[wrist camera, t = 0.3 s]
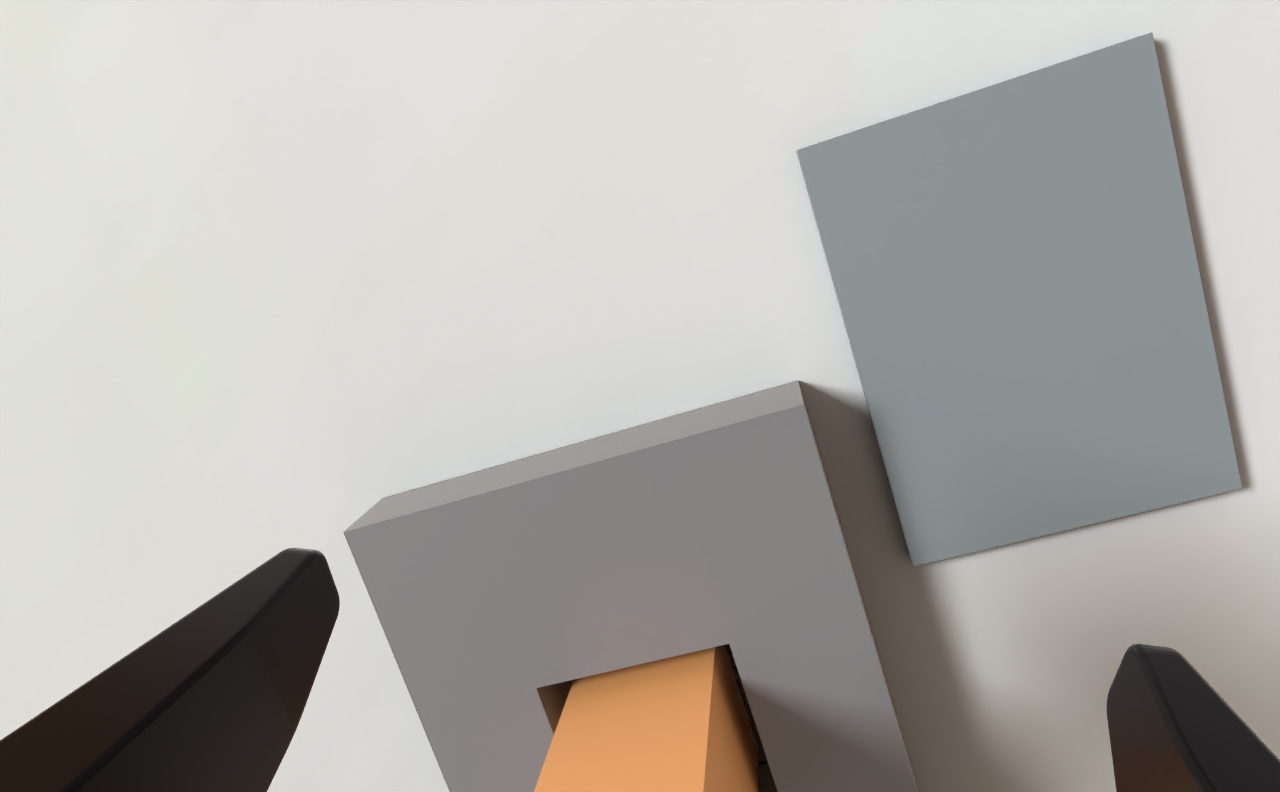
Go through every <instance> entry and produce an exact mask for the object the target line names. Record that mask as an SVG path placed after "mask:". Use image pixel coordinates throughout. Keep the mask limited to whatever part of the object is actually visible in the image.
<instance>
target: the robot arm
mask: <svg viewBox="0 0 1280 792" xmlns="http://www.w3.org/2000/svg"><path fill="white" fill-rule="evenodd" d="M339 604H340V602H339V595H338V592H337V589H336V586H335V583H334V580H333V577H332V575H331V572H330V569H329V566H328V563H327V560H326V558H325V556H324V555H323V554H322V553H321V552H320V551H317V550H309V549H300V548H289V549H286V550H284V551H282V552H280V553H279V554H277V555H276V556H274V557H273V558H271V559H270V560H268V561H267V562H265V563H264V564H262V565H261V566H259V567H258V568H256V569H255V570H253V571H252V572H250V573H249V574H247V575H246V576H244V577H243V578H241V579H240V580H238V581H237V582H235V583H234V584H232V585H231V586H229V587H228V588H226V589H225V590H223V591H222V592H221V593H219V594H218V595H216V596H215V597H213V598H212V599H210V600H209V601H207V602H206V603H204V604H203V605H201V606H200V607H198V608H197V609H195V610H194V611H192V612H191V613H189V614H188V615H186V616H185V617H183V618H182V619H180V620H179V621H177V622H176V623H174V624H173V625H171V626H170V627H168V628H167V629H165V630H164V631H162V632H161V633H159V634H158V635H157V636H155V637H154V638H152V639H151V640H149V641H148V642H146V643H145V644H143V645H142V646H140V647H139V648H137V649H136V650H134V651H133V652H131V653H130V654H128V655H127V656H125V657H124V658H122V659H121V660H119V661H118V662H116V663H115V664H113V665H112V666H110V667H109V668H107V669H106V670H104V671H103V672H101V673H100V674H98V675H97V676H95V677H94V678H93V679H91V680H90V681H88V682H87V683H85V684H84V685H82V686H81V687H79V688H78V689H76V690H75V691H73V692H72V693H70V694H69V695H67V696H66V697H64V698H63V699H61V700H60V701H58V702H57V703H55V704H54V705H52V706H51V707H49V708H48V709H46V710H45V711H43V712H42V713H40V714H39V715H37V716H36V717H34V718H33V719H31V720H30V721H29V722H27V723H26V724H24V725H23V726H21V727H20V728H18V729H17V730H15V731H14V732H12V733H11V734H9V735H8V736H6V737H5V738H3V739H2V740H0V792H267V790H268V788H269V786H270V784H271V782H272V780H273V778H274V776H275V774H276V771H277V769H278V767H279V765H280V763H281V761H282V759H283V757H284V755H285V753H286V751H287V749H288V746H289V744H290V742H291V740H292V738H293V735H294V733H295V731H296V728H297V726H298V723H299V721H300V718H301V716H302V713H303V711H304V708H305V705H306V702H307V700H308V697H309V694H310V691H311V688H312V686H313V683H314V680H315V677H316V675H317V672H318V669H319V666H320V664H321V661H322V658H323V655H324V653H325V650H326V647H327V644H328V641H329V639H330V636H331V633H332V630H333V628H334V625H335V622H336V619H337V616H338V612H339ZM1107 718H1108V726H1109V734H1110V742H1111V750H1112V758H1113V766H1114V774H1115V782H1116V790H1117V792H1280V760H1279V759H1278V758H1277V757H1276V756H1275V755H1274V754H1273V753H1272V751H1271V750H1270V749H1269V748H1268V747H1267V746H1266V745H1265V744H1264V743H1263V742H1262V741H1261V740H1260V739H1259V737H1258V736H1257V735H1256V734H1255V733H1254V732H1253V731H1252V730H1251V729H1250V728H1249V727H1248V726H1247V725H1246V723H1245V722H1244V721H1243V720H1242V719H1241V718H1240V717H1239V716H1238V715H1237V714H1236V713H1235V712H1234V711H1233V709H1232V708H1231V707H1230V706H1229V705H1228V704H1227V703H1226V702H1225V701H1224V700H1223V699H1222V698H1221V697H1220V695H1219V694H1218V693H1217V692H1216V691H1215V690H1214V689H1213V688H1212V687H1211V686H1210V685H1209V684H1208V683H1207V681H1206V680H1205V679H1204V678H1203V677H1202V676H1201V675H1200V674H1199V673H1198V672H1197V671H1196V670H1195V669H1194V667H1193V666H1192V665H1191V664H1190V663H1189V662H1188V661H1187V660H1186V659H1185V658H1184V657H1183V656H1182V655H1181V654H1180V653H1179V652H1177V651H1176V650H1174V649H1171V648H1167V647H1159V646H1150V645H1142V644H1135V645H1132V646H1130V647H1129V648H1128V649H1127V651H1126V653H1125V655H1124V657H1123V659H1122V662H1121V664H1120V667H1119V669H1118V671H1117V674H1116V676H1115V678H1114V681H1113V683H1112V685H1111V688H1110V690H1109V693H1108V698H1107Z"/></svg>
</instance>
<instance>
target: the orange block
mask: <svg viewBox="0 0 1280 792" xmlns="http://www.w3.org/2000/svg"><path fill="white" fill-rule="evenodd" d="M534 792H758V745H757V742H756V739H755V736H754V733H753V730H752V727H751V724H750V721H749V718H748V715H747V712H746V709H745V705H744V702H743V699H742V696H741V693H740V690H739V687H738V684H737V681H736V678H735V675H734V672H733V669H732V666H731V663H730V660H729V657H728V654H727V651H726V648H725V645H722V646H717V647H713V648H709V649H704V650H700V651H696V652H691V653H687V654H683V655H678V656H674V657H669V658H665V659H661V660H656V661H652V662H648V663H643V664H639V665H635V666H630V667H626V668H622V669H617V670H613V671H609V672H604V673H600V674H596V675H591V676H587V677H583V678H578V679H574V680H573V683H572V686H571V689H570V691H569V694H568V697H567V700H566V703H565V705H564V708H563V711H562V714H561V717H560V719H559V722H558V725H557V728H556V731H555V733H554V736H553V739H552V742H551V745H550V748H549V750H548V753H547V756H546V759H545V762H544V764H543V767H542V770H541V773H540V776H539V778H538V781H537V784H536V787H535V790H534Z"/></svg>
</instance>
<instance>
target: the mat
mask: <svg viewBox="0 0 1280 792" xmlns="http://www.w3.org/2000/svg"><path fill="white" fill-rule="evenodd" d="M797 154H798V158H799V161H800V165H801V169H802V172H803V176H804V179H805V183H806V187H807V190H808V194H809V197H810V201H811V205H812V208H813V212H814V215H815V219H816V222H817V226H818V230H819V233H820V237H821V240H822V244H823V248H824V251H825V255H826V258H827V262H828V266H829V269H830V273H831V276H832V280H833V284H834V287H835V291H836V294H837V298H838V301H839V305H840V309H841V312H842V316H843V319H844V323H845V327H846V330H847V334H848V337H849V341H850V345H851V348H852V352H853V355H854V359H855V362H856V366H857V370H858V373H859V377H860V380H861V384H862V388H863V391H864V395H865V398H866V402H867V406H868V409H869V413H870V416H871V420H872V423H873V427H874V431H875V434H876V438H877V441H878V445H879V449H880V452H881V456H882V459H883V463H884V467H885V470H886V474H887V477H888V481H889V485H890V488H891V492H892V495H893V499H894V502H895V506H896V510H897V513H898V517H899V520H900V524H901V528H902V531H903V535H904V538H905V542H906V546H907V549H908V553H909V556H910V560H911V562H912V564H913V567H914V566H918V565H923V564H927V563H931V562H935V561H939V560H944V559H948V558H952V557H956V556H960V555H965V554H969V553H973V552H977V551H981V550H986V549H990V548H994V547H998V546H1002V545H1007V544H1011V543H1015V542H1019V541H1023V540H1028V539H1032V538H1036V537H1040V536H1044V535H1049V534H1053V533H1057V532H1061V531H1066V530H1070V529H1074V528H1078V527H1082V526H1087V525H1091V524H1095V523H1099V522H1103V521H1108V520H1112V519H1116V518H1120V517H1124V516H1129V515H1133V514H1137V513H1141V512H1145V511H1150V510H1154V509H1158V508H1162V507H1166V506H1171V505H1175V504H1179V503H1183V502H1187V501H1192V500H1196V499H1200V498H1204V497H1209V496H1213V495H1217V494H1221V493H1225V492H1230V491H1234V490H1238V489H1242V484H1241V479H1240V474H1239V469H1238V464H1237V459H1236V454H1235V449H1234V444H1233V439H1232V434H1231V429H1230V423H1229V418H1228V413H1227V408H1226V403H1225V398H1224V393H1223V388H1222V383H1221V378H1220V373H1219V368H1218V363H1217V358H1216V352H1215V347H1214V342H1213V337H1212V332H1211V327H1210V322H1209V317H1208V312H1207V307H1206V302H1205V297H1204V292H1203V287H1202V281H1201V276H1200V271H1199V266H1198V261H1197V256H1196V251H1195V246H1194V241H1193V236H1192V231H1191V226H1190V221H1189V216H1188V210H1187V205H1186V200H1185V195H1184V190H1183V185H1182V180H1181V175H1180V170H1179V165H1178V160H1177V155H1176V150H1175V145H1174V139H1173V134H1172V129H1171V124H1170V119H1169V114H1168V109H1167V104H1166V99H1165V94H1164V89H1163V84H1162V79H1161V74H1160V68H1159V63H1158V58H1157V53H1156V48H1155V43H1154V38H1153V33H1149V34H1146V35H1143V36H1140V37H1137V38H1134V39H1131V40H1128V41H1125V42H1122V43H1119V44H1116V45H1113V46H1110V47H1107V48H1104V49H1101V50H1098V51H1095V52H1092V53H1089V54H1086V55H1083V56H1080V57H1077V58H1074V59H1071V60H1068V61H1064V62H1061V63H1058V64H1055V65H1052V66H1049V67H1046V68H1043V69H1040V70H1037V71H1034V72H1031V73H1028V74H1025V75H1022V76H1019V77H1016V78H1013V79H1010V80H1007V81H1004V82H1001V83H998V84H995V85H992V86H989V87H986V88H983V89H980V90H977V91H974V92H971V93H968V94H965V95H962V96H959V97H956V98H953V99H950V100H947V101H944V102H941V103H938V104H935V105H932V106H929V107H926V108H923V109H920V110H917V111H914V112H911V113H908V114H905V115H902V116H899V117H896V118H893V119H890V120H887V121H884V122H881V123H878V124H875V125H872V126H869V127H866V128H863V129H860V130H857V131H854V132H851V133H848V134H845V135H842V136H839V137H836V138H833V139H830V140H827V141H824V142H821V143H818V144H815V145H812V146H809V147H806V148H803V149H800V150H797Z"/></svg>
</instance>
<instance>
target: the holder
mask: <svg viewBox="0 0 1280 792" xmlns="http://www.w3.org/2000/svg"><path fill="white" fill-rule="evenodd" d="M344 535H345V537H346V540H347V542H348V544H349V547H350V549H351V552H352V554H353V557H354V559H355V562H356V564H357V566H358V569H359V571H360V574H361V576H362V579H363V581H364V584H365V586H366V588H367V591H368V593H369V596H370V598H371V601H372V603H373V606H374V608H375V610H376V613H377V615H378V618H379V620H380V623H381V625H382V628H383V630H384V632H385V635H386V637H387V640H388V642H389V645H390V647H391V649H392V652H393V654H394V657H395V659H396V662H397V664H398V667H399V669H400V671H401V674H402V676H403V679H404V681H405V684H406V686H407V689H408V691H409V693H410V696H411V698H412V701H413V703H414V706H415V708H416V711H417V713H418V715H419V718H420V720H421V723H422V725H423V728H424V730H425V733H426V735H427V737H428V740H429V742H430V745H431V747H432V750H433V752H434V755H435V757H436V759H437V762H438V764H439V767H440V769H441V772H442V774H443V776H444V779H445V781H446V784H447V786H448V789H449V791H450V792H534V790H535V787H536V784H537V781H538V778H539V776H540V773H541V770H542V767H543V764H544V762H545V759H546V756H547V753H548V750H549V748H550V745H551V742H552V739H553V736H554V733H555V731H556V728H557V725H558V722H559V719H560V717H561V714H562V711H563V708H564V705H565V703H566V700H567V697H568V694H569V691H570V689H571V686H572V681H571V680H574V679H578V678H583V677H587V676H591V675H596V674H600V673H604V672H609V671H613V670H617V669H622V668H626V667H630V666H635V665H639V664H643V663H648V662H652V661H656V660H661V659H665V658H669V657H674V656H678V655H683V654H687V653H691V652H696V651H700V650H704V649H709V648H713V647H717V646H722V645H726V644H729V645H730V648H731V651H732V654H733V657H734V660H735V663H736V666H737V669H738V672H739V675H740V678H741V681H742V685H743V688H744V691H745V694H746V697H747V700H748V703H749V706H750V709H751V712H752V715H753V718H754V721H755V724H756V727H757V730H758V733H759V736H760V739H761V742H762V746H763V749H764V752H765V755H766V758H767V761H768V763H765V764H760V765H758V792H919V791H918V788H917V784H916V781H915V778H914V774H913V771H912V767H911V764H910V761H909V757H908V754H907V750H906V747H905V743H904V740H903V737H902V733H901V730H900V726H899V723H898V720H897V716H896V713H895V709H894V706H893V702H892V699H891V696H890V692H889V689H888V685H887V682H886V679H885V675H884V672H883V668H882V665H881V661H880V658H879V655H878V651H877V648H876V644H875V641H874V638H873V634H872V631H871V627H870V624H869V620H868V617H867V614H866V610H865V607H864V603H863V600H862V597H861V593H860V590H859V586H858V583H857V579H856V576H855V573H854V569H853V566H852V562H851V559H850V556H849V552H848V549H847V545H846V542H845V538H844V535H843V532H842V528H841V525H840V521H839V518H838V515H837V511H836V508H835V504H834V501H833V497H832V494H831V491H830V487H829V484H828V480H827V477H826V474H825V470H824V467H823V463H822V460H821V456H820V453H819V450H818V446H817V443H816V439H815V436H814V433H813V429H812V426H811V422H810V419H809V415H808V412H807V409H806V405H805V402H804V398H803V395H802V392H801V388H800V385H799V381H795V382H791V383H788V384H784V385H781V386H777V387H774V388H770V389H767V390H763V391H759V392H756V393H752V394H749V395H745V396H742V397H738V398H735V399H731V400H728V401H724V402H721V403H717V404H714V405H710V406H707V407H703V408H699V409H696V410H692V411H689V412H685V413H682V414H678V415H675V416H671V417H668V418H664V419H661V420H657V421H654V422H650V423H647V424H643V425H639V426H636V427H632V428H629V429H625V430H622V431H618V432H615V433H611V434H608V435H604V436H601V437H597V438H594V439H590V440H587V441H583V442H579V443H576V444H572V445H569V446H565V447H562V448H558V449H555V450H551V451H548V452H544V453H541V454H537V455H534V456H530V457H527V458H523V459H519V460H516V461H512V462H509V463H505V464H502V465H498V466H495V467H491V468H488V469H484V470H481V471H477V472H474V473H470V474H467V475H463V476H459V477H456V478H452V479H449V480H445V481H442V482H438V483H435V484H431V485H428V486H424V487H421V488H417V489H414V490H410V491H407V492H403V493H399V494H396V495H392V496H389V497H385V498H382V499H381V500H380V501H379V502H378V503H377V504H375V505H374V506H373V507H372V508H371V509H370V510H369V511H367V512H366V513H365V514H364V515H363V516H362V517H360V518H359V519H358V520H357V521H356V522H355V523H353V524H352V525H351V526H350V527H349V528H348V529H347V530H345V531H344Z"/></svg>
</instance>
